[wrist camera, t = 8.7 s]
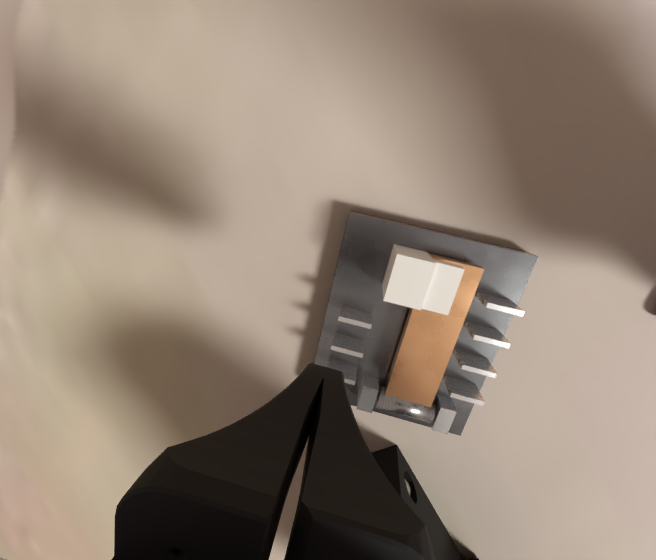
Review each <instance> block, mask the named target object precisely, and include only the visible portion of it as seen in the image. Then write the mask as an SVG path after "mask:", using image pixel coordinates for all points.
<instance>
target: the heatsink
mask: <svg viewBox="0 0 656 560" xmlns="http://www.w3.org/2000/svg"><path fill="white" fill-rule="evenodd" d="M394 244H396V245H400V246H404V247H409V248H413V249H417V250H421V251H425V252H427V253H430V254H434V255H438V256H442V257H446V258H451V259H455V260H459V261H463V262H467V263H471V264H476V265H480V266H481V267H482V268H484V271H483V274H482V277H481V279H480V282H479V284H478V287H477V290H476V292H475V295H474V297H473V300H472V302H471V305H470V308H469V310H468V313H467V315H466V318H465V321H464V323H463V326H462V328H461V331H460V333H459V336H458V339H457V341H456V344H455V346H454V349H453V352H452V354H451V357H450V359H449V362H448V365H447V367H446V370H445V372H444V375H443V377H442V380H441V383H440V385H439V388H438V390H437V393H436V396H435V398H434V402H435V406H436V410H435V416H434V419H433V421H432V422H431V423H429V422H425V421H421V420H418V419H414V418H411V417H407V416H404V415H400V414H396V413H393V412H389V411H386V410H382V409H379V408H376V407H375V402H376V397H377V394H378V391H379V387H380V386H382V387H385V384H386V381H387V378H388V375H389V372H390V369H391V366H392V363H393V360H394V357H395V353H396V350H397V347H398V344H399V341H400V338H401V335H402V332H403V329H404V326H405V323H406V319H407V316H408V313H409V310H410V307H406V306H402V305H398V304H394V303H390V302H386V301H383V289H382V283H383V280H384V276H385V273H386V269H387V266H388V262H389V259H390V255H391V252H392V248H393V245H394ZM537 257H538V256H535V255H533V254H531V253H528V252H524V251H520V250H516V249H511V248H507V247H503V246H499V245H494V244H490V243H486V242H481V241H477V240H473V239H469V238H464V237H460V236H456V235H452V234H447V233H443V232H439V231H435V230H430V229H426V228H422V227H418V226H413V225H409V224H405V223H401V222H396V221H392V220H388V219H384V218H379V217H375V216H371V215H367V214H362V213H358V212H354V211H350V212H349V216H348V221H347V225H346V229H345V233H344V238H343V242H342V246H341V250H340V255H339V259H338V263H337V268H336V272H335V276H334V280H333V285H332V289H331V293H330V297H329V302H328V306H327V310H326V315H325V319H324V323H323V327H322V332H321V336H320V340H319V344H318V349H317V353H316V357H315V362H314V364H317V365H320V366H324V367H328V368H331V369H335V370H339V371H342V373H343V374H344V382H345V387H346V391H347V395H348V399H349V402H350V405H353V406H357V409H359V410H363V411H367V412H370V413H372V411H375V412H378V413H382V414H386V415H389V416H393V417H396V418H400V419H403V420H407V421H410V422H414V423H418V424H421V425H425V426H428V427H431V428H432V430H434V431H438V432H441V433H445V434H448V432H450V433H453V434H457V435H461V433H462V431H463V428H464V426H465V424H466V421H467V419H468V417H469V414H470V412H471V410H472V407H473V405H474V404H478V405H481V406H483V405H484V403H485V401H484V399H483V397H482V395H481V393H480V389H481V387H482V384H483V382H484V380H485V377H486V376H489V377H493V378H496V376H497V373H496V371H495V369H494V368H493V366H492V365H491V364H492V361H493V359H494V357H495V354H496V352H497V350H498V347H499V346H501V347H505V348H509V347H510V342H509V341H508V340H507V339H506V338H505V337H504V334H505V331H506V329H507V327H508V324H509V322H510V320H511V317H512V315H513V314H514V315H518V316H522V317H523V315H524V313H525V311H523V310H522V309H521V308H520V307H519V306H517V304H518V301H519V299H520V297H521V294H522V292H523V290H524V287H525V285H526V283H527V281H528V278H529V276H530V274H531V271H532V269H533V267H534V264H535V262H536V260H537Z"/></svg>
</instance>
